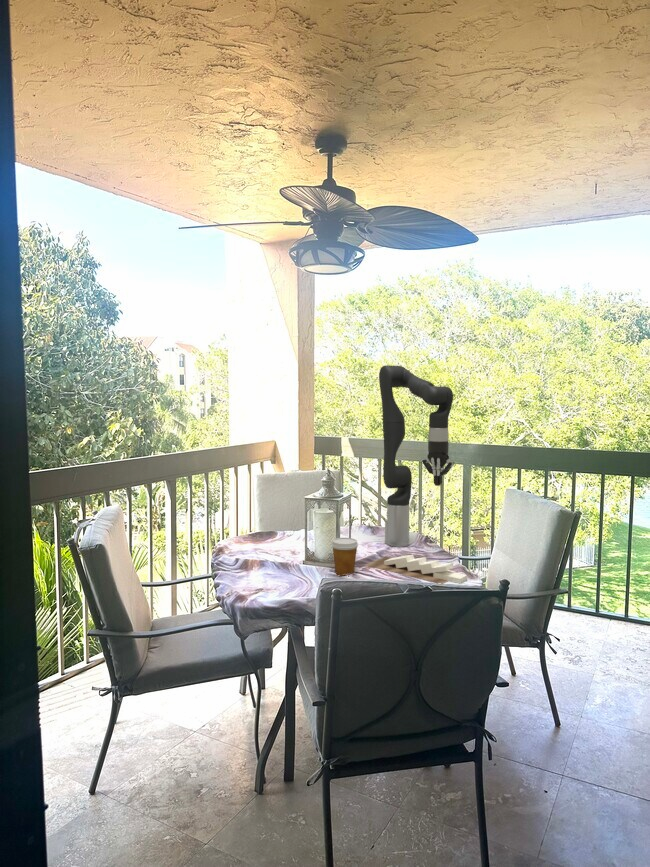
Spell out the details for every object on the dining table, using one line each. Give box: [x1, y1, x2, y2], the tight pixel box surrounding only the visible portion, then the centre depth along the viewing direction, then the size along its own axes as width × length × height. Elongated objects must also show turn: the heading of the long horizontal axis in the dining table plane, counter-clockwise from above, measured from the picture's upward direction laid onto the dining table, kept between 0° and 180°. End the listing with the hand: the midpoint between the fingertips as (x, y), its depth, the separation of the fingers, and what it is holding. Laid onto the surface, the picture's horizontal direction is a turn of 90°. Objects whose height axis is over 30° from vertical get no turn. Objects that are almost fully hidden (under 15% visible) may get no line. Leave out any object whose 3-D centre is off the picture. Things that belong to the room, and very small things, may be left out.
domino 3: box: [407, 559, 440, 571], centre depth 200 cm, size 2×5×10 cm
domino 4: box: [421, 562, 454, 574], centre depth 197 cm, size 2×5×10 cm
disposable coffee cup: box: [331, 537, 359, 577], centre depth 201 cm, size 10×10×12 cm
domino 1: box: [384, 554, 415, 566], centre depth 207 cm, size 2×5×10 cm
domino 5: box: [433, 570, 468, 584], centre depth 194 cm, size 2×5×10 cm
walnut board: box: [364, 556, 449, 585], centre depth 203 cm, size 32×14×1 cm, turn 50°
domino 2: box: [395, 556, 428, 568], centre depth 203 cm, size 2×5×10 cm
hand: (437, 485), depth 215 cm, fingers closed
